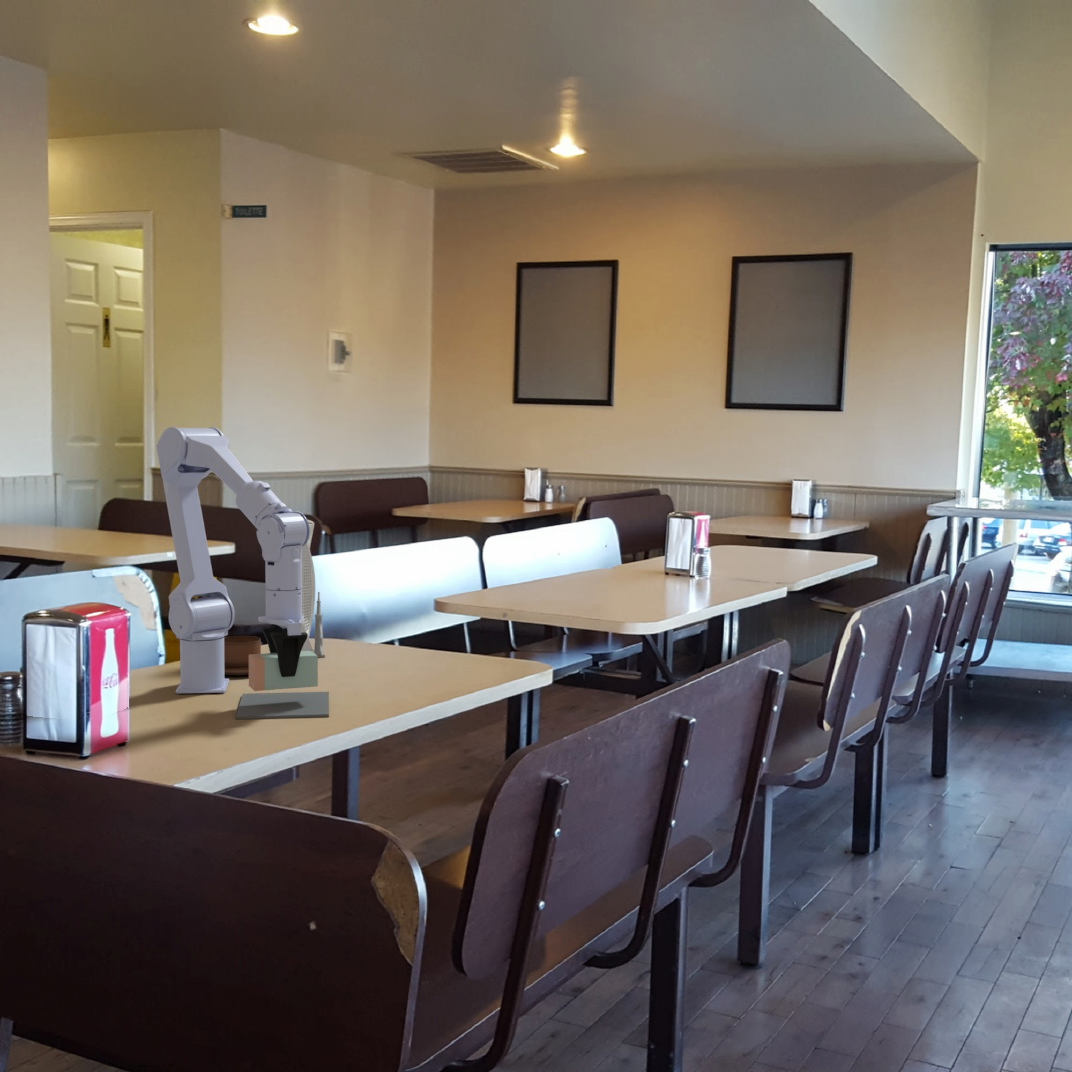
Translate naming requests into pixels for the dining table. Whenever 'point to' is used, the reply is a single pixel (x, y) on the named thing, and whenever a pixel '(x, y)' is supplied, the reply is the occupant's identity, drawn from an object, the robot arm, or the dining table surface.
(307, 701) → the rubber mat
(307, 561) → the skyscraper
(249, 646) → the cup and saucer
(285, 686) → the green and orange block
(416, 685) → the dining table surface
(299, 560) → the robot arm
